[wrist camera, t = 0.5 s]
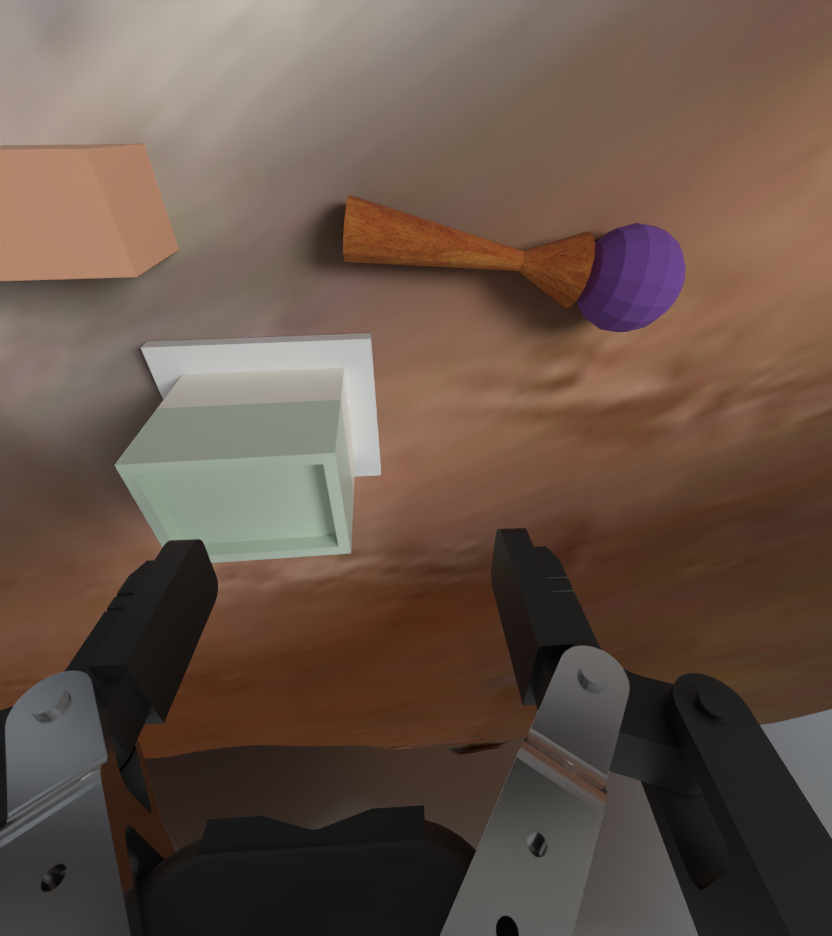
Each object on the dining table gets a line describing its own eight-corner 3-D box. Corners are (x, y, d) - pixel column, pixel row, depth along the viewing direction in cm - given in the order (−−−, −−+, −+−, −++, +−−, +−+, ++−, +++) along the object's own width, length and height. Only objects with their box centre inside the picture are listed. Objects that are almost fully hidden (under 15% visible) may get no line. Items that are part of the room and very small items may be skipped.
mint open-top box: (204, 477, 36) (152, 587, 27) (146, 341, 28) (50, 434, 20) (380, 467, 37) (384, 570, 28) (370, 333, 29) (370, 418, 21)
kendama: (345, 156, 20) (728, 232, 22) (356, 174, 25) (665, 235, 27) (336, 290, 23) (678, 347, 25) (348, 281, 28) (629, 329, 30)
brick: (39, 253, 25) (-38, 282, 20) (-18, 145, 22) (-123, 151, 17) (179, 249, 25) (136, 277, 21) (145, 143, 22) (85, 148, 17)
